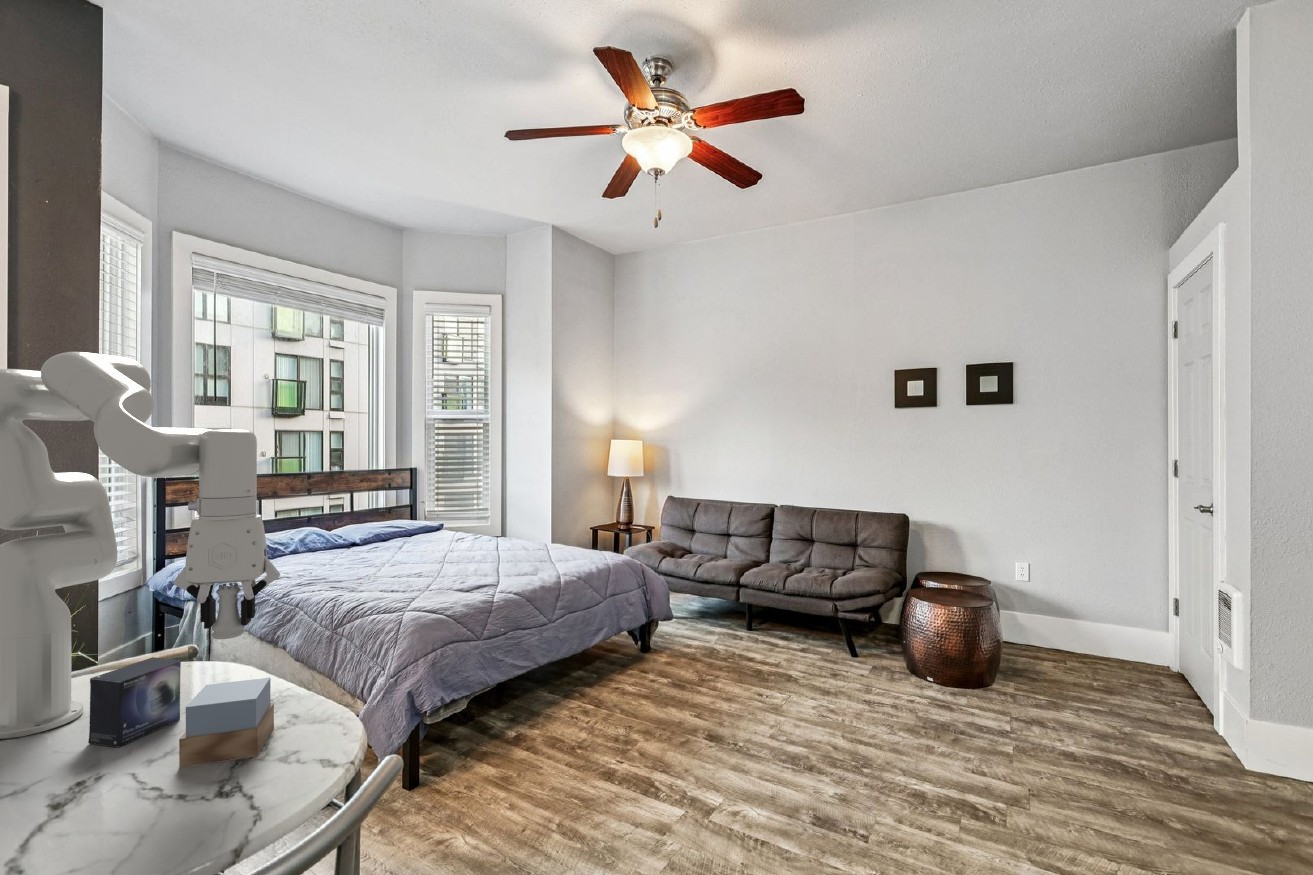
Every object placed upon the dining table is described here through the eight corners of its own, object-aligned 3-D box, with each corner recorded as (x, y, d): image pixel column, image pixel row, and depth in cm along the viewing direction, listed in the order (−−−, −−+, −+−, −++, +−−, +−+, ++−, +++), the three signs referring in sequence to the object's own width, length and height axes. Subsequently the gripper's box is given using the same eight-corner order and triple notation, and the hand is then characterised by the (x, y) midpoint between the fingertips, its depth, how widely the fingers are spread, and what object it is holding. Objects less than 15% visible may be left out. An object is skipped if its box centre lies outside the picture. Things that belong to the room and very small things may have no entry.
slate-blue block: (185, 737, 94) (185, 706, 94) (206, 712, 102) (206, 684, 102) (256, 728, 97) (256, 698, 97) (270, 704, 105) (270, 677, 105)
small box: (119, 748, 99) (119, 681, 99) (86, 745, 100) (86, 678, 100) (183, 719, 109) (182, 658, 109) (152, 716, 111) (151, 656, 111)
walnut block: (179, 769, 93) (179, 738, 93) (203, 739, 103) (203, 711, 103) (257, 758, 96) (257, 728, 96) (273, 729, 106) (273, 702, 106)
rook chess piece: (239, 629, 103) (239, 580, 103) (249, 634, 100) (249, 584, 100) (206, 636, 99) (207, 584, 99) (216, 641, 97) (216, 589, 97)
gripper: (154, 512, 94) (153, 637, 93) (284, 508, 99) (283, 626, 99) (173, 507, 101) (173, 623, 101) (294, 504, 106) (293, 613, 106)
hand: (228, 623), depth 100 cm, fingers closed on rook chess piece, 4 cm apart
